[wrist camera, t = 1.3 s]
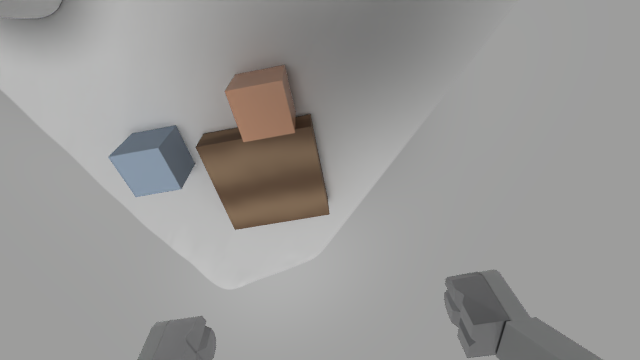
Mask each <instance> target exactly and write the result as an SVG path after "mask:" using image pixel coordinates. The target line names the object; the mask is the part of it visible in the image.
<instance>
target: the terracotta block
mask: <svg viewBox="0 0 640 360" xmlns="http://www.w3.org/2000/svg"><path fill="white" fill-rule="evenodd" d="M225 93H226V96H227V99H228V101H229V104H230V107H231V110H232V112H233V115H234V118H235V121H236V123H237V126H238V129H239V131H240V134H241V137H242V140H243V142H248V141H253V140H259V139H265V138H270V137H276V136H281V135H287V134H292V133H295V121H296V111H295V107H294V102H293V98H292V94H291V89H290V85H289V81H288V76H287V72H286V68H285V65H281V66H276V67H271V68H265V69H260V70H255V71H250V72H245V73H240V74H235V76H234V77H233V79H232V80H231V82H230V84H229V85H228V87H227V88H226V90H225Z"/></svg>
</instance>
